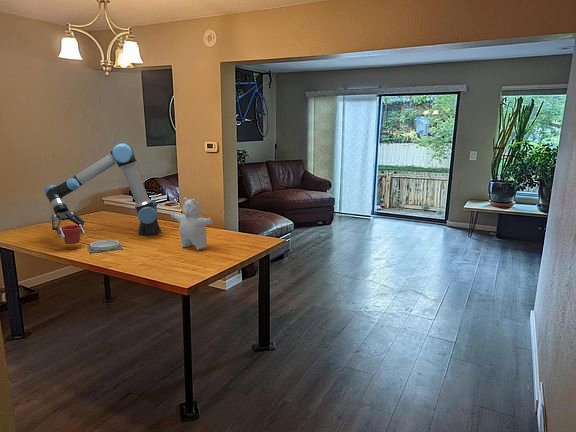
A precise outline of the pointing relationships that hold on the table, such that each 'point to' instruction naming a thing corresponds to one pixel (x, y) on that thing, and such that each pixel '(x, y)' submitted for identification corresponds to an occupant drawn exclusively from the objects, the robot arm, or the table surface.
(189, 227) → the bear
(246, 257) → the table surface
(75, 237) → the flower pot
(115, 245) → the grey octagonal tray
